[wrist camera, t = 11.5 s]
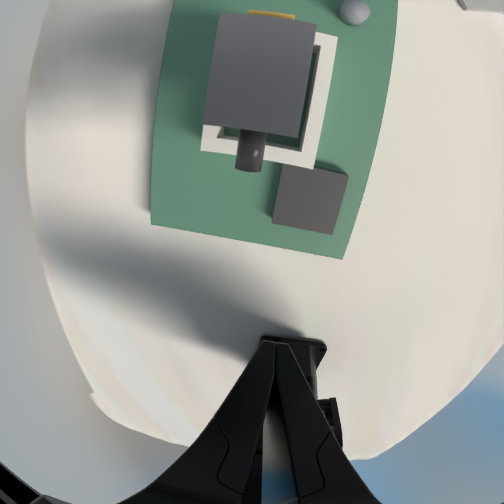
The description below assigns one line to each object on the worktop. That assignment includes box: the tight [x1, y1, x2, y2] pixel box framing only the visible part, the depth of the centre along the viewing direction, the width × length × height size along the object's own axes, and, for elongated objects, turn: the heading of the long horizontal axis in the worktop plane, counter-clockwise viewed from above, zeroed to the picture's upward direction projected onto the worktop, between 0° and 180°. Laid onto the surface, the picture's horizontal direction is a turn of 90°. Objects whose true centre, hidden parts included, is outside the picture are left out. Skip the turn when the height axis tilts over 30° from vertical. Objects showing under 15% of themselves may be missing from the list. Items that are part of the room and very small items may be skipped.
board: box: [151, 0, 398, 259], centre depth 13 cm, size 20×14×3 cm
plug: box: [203, 10, 317, 172], centre depth 11 cm, size 6×3×8 cm, turn 172°
